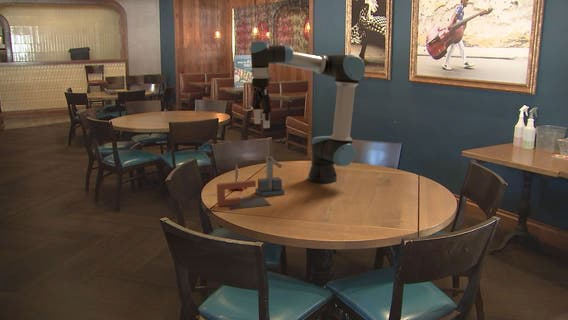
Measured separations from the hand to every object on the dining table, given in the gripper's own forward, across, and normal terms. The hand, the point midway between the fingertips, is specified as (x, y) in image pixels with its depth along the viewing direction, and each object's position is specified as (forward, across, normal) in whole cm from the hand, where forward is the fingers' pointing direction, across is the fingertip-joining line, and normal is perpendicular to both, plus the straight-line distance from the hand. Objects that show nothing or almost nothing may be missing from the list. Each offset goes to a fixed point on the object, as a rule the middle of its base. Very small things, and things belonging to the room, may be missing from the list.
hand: (261, 125), depth 218 cm
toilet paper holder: (+34, -1, +5) cm, 34 cm away
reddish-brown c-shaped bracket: (+29, +4, -5) cm, 29 cm away
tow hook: (+34, -21, -7) cm, 41 cm away
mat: (+34, +4, -9) cm, 35 cm away
